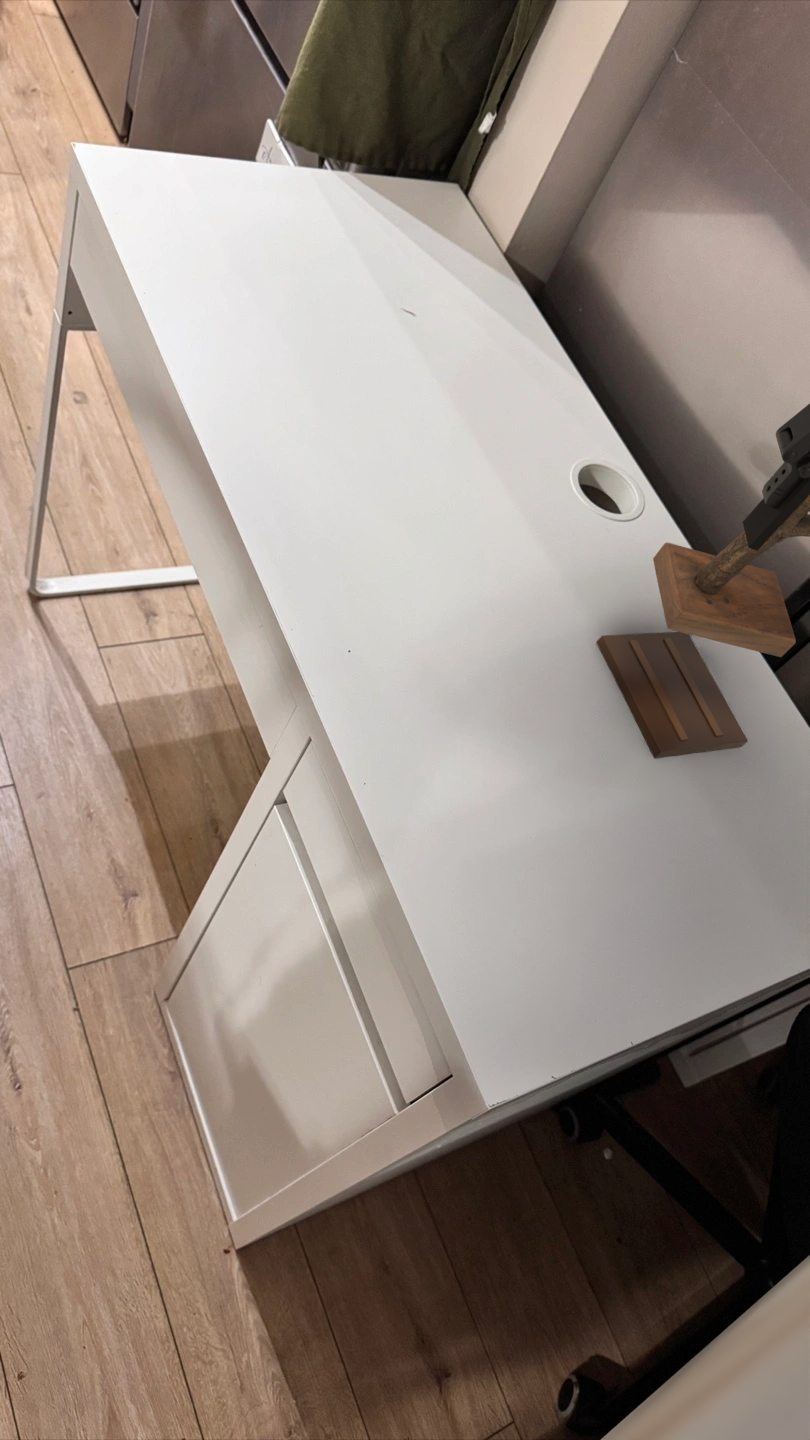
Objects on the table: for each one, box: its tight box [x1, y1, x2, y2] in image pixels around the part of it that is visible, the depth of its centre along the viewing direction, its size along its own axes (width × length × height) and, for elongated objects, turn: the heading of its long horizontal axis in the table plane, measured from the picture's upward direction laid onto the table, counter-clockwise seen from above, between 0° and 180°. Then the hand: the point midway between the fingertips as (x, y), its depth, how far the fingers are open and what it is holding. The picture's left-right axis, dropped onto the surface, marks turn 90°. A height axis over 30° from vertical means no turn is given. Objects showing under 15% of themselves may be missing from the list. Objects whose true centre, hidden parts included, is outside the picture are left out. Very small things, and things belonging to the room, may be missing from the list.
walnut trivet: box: [596, 631, 749, 759], centre depth 88 cm, size 12×10×1 cm
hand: (806, 555), depth 75 cm, fingers closed on bird figurine, 9 cm apart
